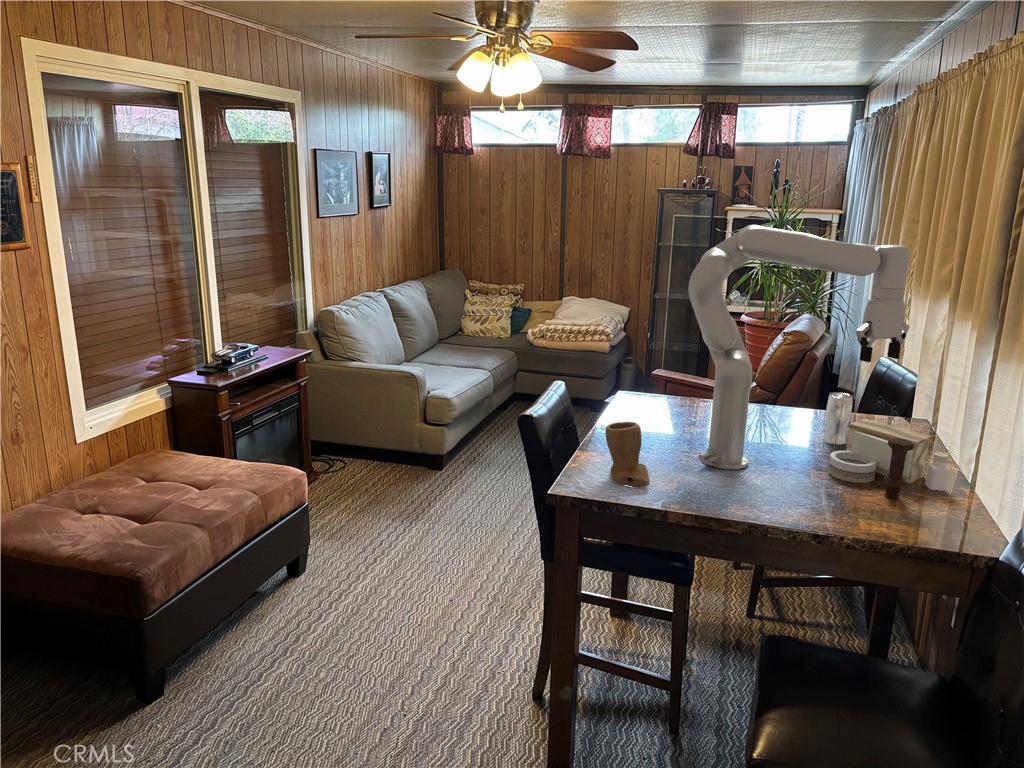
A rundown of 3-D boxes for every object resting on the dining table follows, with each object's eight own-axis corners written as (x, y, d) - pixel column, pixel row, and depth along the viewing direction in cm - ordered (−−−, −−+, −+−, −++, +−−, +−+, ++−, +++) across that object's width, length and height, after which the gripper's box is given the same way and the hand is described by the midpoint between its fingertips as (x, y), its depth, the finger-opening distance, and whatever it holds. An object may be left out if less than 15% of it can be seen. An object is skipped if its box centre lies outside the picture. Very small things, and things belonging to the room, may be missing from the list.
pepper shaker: (924, 484, 193) (930, 451, 191) (940, 486, 193) (946, 452, 190) (929, 490, 190) (935, 456, 187) (946, 492, 189) (952, 457, 186)
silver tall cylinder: (851, 444, 224) (858, 397, 220) (834, 446, 221) (841, 399, 217) (834, 437, 230) (840, 391, 226) (817, 439, 227) (823, 393, 223)
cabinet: (887, 495, 186) (894, 451, 183) (819, 472, 201) (825, 431, 197) (924, 476, 199) (932, 436, 196) (858, 456, 213) (864, 418, 210)
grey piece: (881, 484, 186) (885, 456, 184) (820, 461, 201) (824, 435, 199) (908, 476, 191) (913, 449, 189) (847, 454, 206) (851, 429, 204)
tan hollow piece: (603, 466, 202) (606, 415, 198) (646, 469, 200) (650, 417, 197) (602, 488, 187) (605, 433, 183) (649, 491, 186) (653, 435, 182)
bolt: (906, 502, 182) (915, 446, 178) (884, 500, 183) (893, 444, 179) (898, 493, 188) (908, 438, 184) (877, 491, 188) (886, 436, 185)
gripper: (900, 290, 192) (891, 354, 196) (850, 294, 186) (842, 359, 190) (925, 294, 185) (915, 359, 190) (874, 298, 179) (865, 365, 183)
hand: (879, 359), depth 190 cm, fingers open, 9 cm apart
